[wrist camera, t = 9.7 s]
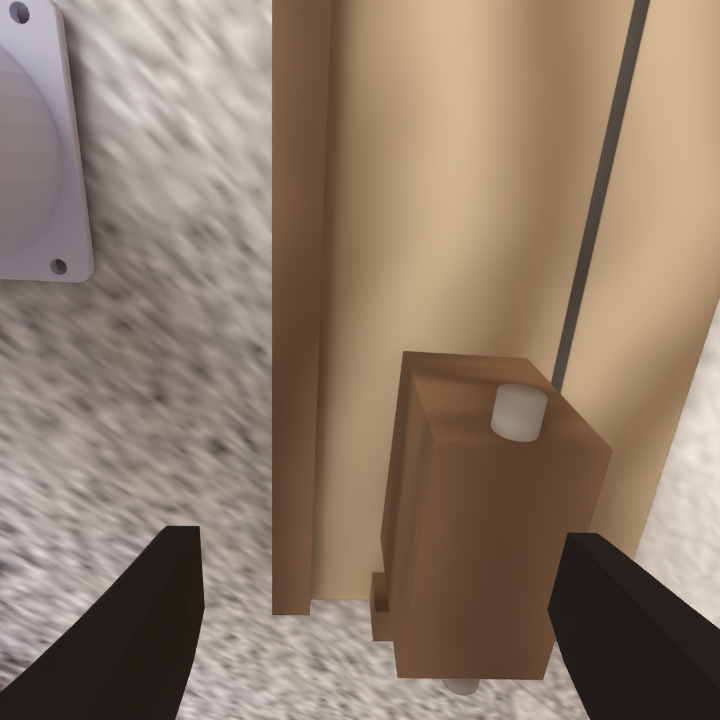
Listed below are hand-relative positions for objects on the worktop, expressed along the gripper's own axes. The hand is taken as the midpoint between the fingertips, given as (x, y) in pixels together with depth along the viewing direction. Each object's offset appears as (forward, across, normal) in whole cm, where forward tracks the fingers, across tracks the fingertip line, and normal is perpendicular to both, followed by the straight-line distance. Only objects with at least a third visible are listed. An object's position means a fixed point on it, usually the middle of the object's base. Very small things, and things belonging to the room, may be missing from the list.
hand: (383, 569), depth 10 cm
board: (+10, -4, -4) cm, 11 cm away
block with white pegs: (+9, -4, +3) cm, 10 cm away
